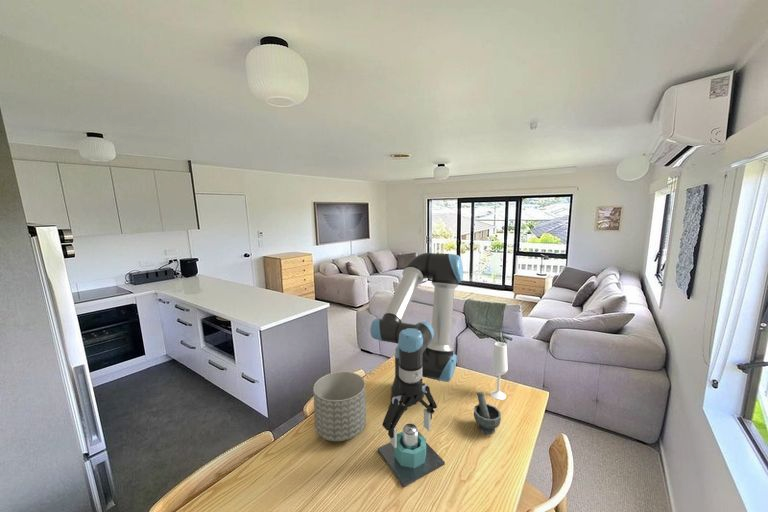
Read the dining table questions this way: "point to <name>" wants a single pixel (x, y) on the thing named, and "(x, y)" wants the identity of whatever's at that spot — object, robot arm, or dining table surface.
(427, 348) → the robot arm
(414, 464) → the ring
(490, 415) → the mortar and pestle
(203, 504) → the dining table surface
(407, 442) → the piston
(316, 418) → the planter
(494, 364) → the champagne flute
